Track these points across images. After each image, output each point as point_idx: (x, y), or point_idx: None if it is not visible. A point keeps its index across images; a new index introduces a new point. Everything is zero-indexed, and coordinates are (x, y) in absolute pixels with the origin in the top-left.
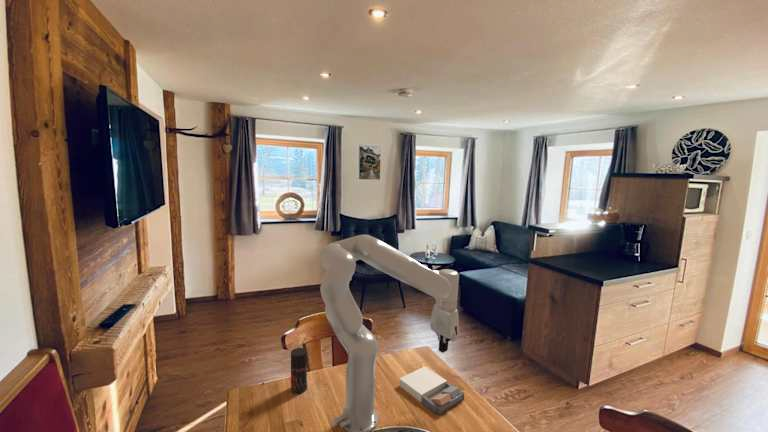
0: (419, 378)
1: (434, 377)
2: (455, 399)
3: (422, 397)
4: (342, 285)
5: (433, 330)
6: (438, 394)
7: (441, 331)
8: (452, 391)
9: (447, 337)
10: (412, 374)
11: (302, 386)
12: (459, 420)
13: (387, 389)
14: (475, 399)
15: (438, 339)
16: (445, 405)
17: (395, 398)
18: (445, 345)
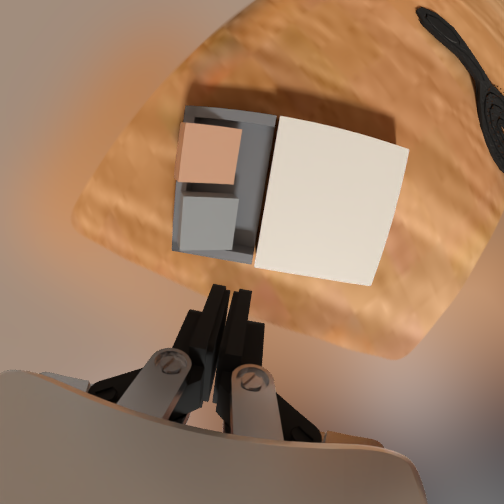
0: (349, 203)
1: (304, 251)
2: (175, 200)
3: (273, 115)
4: None
5: (343, 452)
6: (251, 195)
7: (112, 473)
8: (182, 207)
9: (21, 375)
10: (384, 207)
11: None
12: (135, 144)
13: (411, 103)
14: (156, 266)
15: (264, 373)
16: None
17: (361, 78)
18: (175, 341)
